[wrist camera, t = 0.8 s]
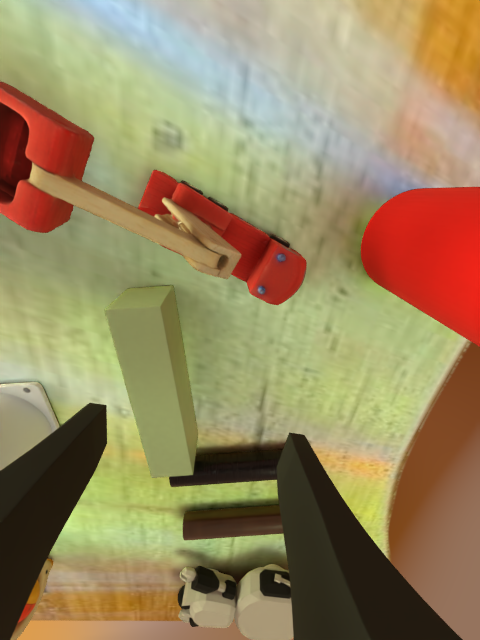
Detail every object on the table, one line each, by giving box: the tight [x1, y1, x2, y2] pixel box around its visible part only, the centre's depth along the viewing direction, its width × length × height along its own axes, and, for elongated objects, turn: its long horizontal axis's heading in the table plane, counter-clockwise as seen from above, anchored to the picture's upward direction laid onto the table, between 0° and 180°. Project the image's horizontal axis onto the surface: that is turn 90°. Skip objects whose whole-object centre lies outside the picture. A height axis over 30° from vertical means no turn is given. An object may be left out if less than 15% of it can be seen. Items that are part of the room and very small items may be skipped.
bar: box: [104, 285, 198, 478], centre depth 20 cm, size 14×3×4 cm, turn 4°
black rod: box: [169, 449, 283, 487], centre depth 25 cm, size 12×2×2 cm, turn 94°
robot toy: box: [178, 564, 293, 640], centre depth 33 cm, size 12×4×15 cm
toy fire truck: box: [0, 82, 306, 305], centre depth 13 cm, size 3×14×10 cm, turn 60°
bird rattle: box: [10, 558, 53, 640], centre depth 27 cm, size 6×11×9 cm
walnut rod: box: [183, 505, 283, 540], centre depth 29 cm, size 12×2×2 cm, turn 94°
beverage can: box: [361, 187, 480, 346], centre depth 13 cm, size 6×6×12 cm
